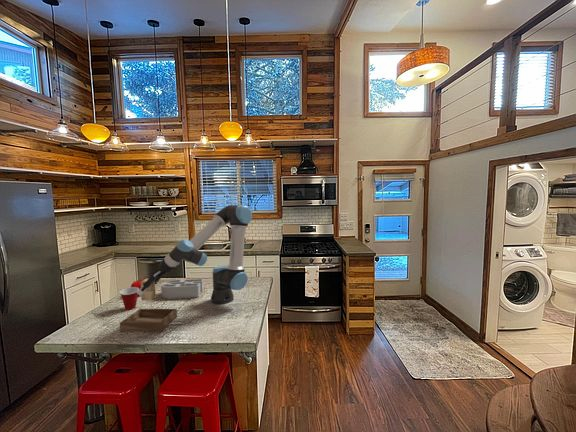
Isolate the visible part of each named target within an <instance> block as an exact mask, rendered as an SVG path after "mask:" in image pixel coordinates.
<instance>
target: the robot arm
mask: <svg viewBox="0 0 576 432" xmlns="http://www.w3.org/2000/svg"><path fill="white" fill-rule="evenodd" d="M252 220H253V213H252V210H251V208H250V207H248V206H247V205H243V204H237V205H236V204H234V205H233V204H229V205H226V206H224V207H223V208H221V209H220V210H218V212H217V213H216V214H214V215H213V218H212V219H211V220H210V221H209V222H208V223H207V224H206V225H205V226H204V227H203V228H202V229H200V231H198V232H197V233H196V234H195V235H194V236H193V237H192V238H191V239H190V240H189V239H187V238H183V239H182V240H180V241H179V242H178V243H177V244H176V245H175V246H174V247H173V248H172V250H171V251H170V252H169V253H168V254H167V255H166V256H165V257H164V258H163V259H162V260H161V261H160V262H159V268H158V269H157V270H156V271H154V272H153V273H152V274H151V276H150V277H148V280H147V281H146V282H145V283H143V286H142V288H141V289H140V290H139V291H138V292H137V294H138V295H137V296H139V297H142V294H143V293H144V292H145V291H146V290H147V289H148V288H149V286H150V285H151V284H152V283H153V282H154V281H155V285H157V284H158V282H159V281H160V280H161V279H162V278H163V277H164V276H165V274H167V273H171V272H172V271H173V270H174V269H175V268H176V267H177V266H180V263H181V262H183V261H184V262H187V263H191V264H194V265H196V266H199V267H201V266H204V265H205V264H206V263H207V261H208V255H207V253H204V252H203V251H200V250H199V249H200V248H202V247H203V246H204V245H205V243H207V242H208V241H209V240H210V238H212V237H213V236H214V235H215V234H216V233H217V232H218V231H219V230H220V229H221V228H222V227H226V225H227V224H229V226H230V227H231V235H230V247H229V248H230V249H229V262H228V264H227V265H226V264H225V265H219V266H214V268H213V269H212V273H211V274H212V287H213V289H212V293H211V297H210V302H211V303H213V304H217V305H222V304H228V303H231V302H233V301H234V299H235V296H234V293H233V291H234V290H236V291H240V290H243V289H244V288H245V286H246V285H247V283H248V280H249V279H248V275H247V273H246V272H245V269H246V268H245V267H244V265H243V264H244V263H243V262H244V254H245V253H244V250H245V240H246V237H245V236H246V229H247V228H248V226H249V223H251V221H252Z"/></svg>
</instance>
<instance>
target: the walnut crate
mask: <svg viewBox="0 0 576 432" xmlns="http://www.w3.org/2000/svg"><path fill="white" fill-rule="evenodd" d="M177 309H178V308H139V309H138V310H136V311H134V312H133V313H131V314H130V315H129V316H126V318H124V319H123V320H122V321H120V322H119V332H120V333H162V332H163V331H164V330H165V329H166V328H168V327H169V325H171V324H172V323H173V322H174V321H175V320H176V319H177V318H178V310H177Z"/></svg>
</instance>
